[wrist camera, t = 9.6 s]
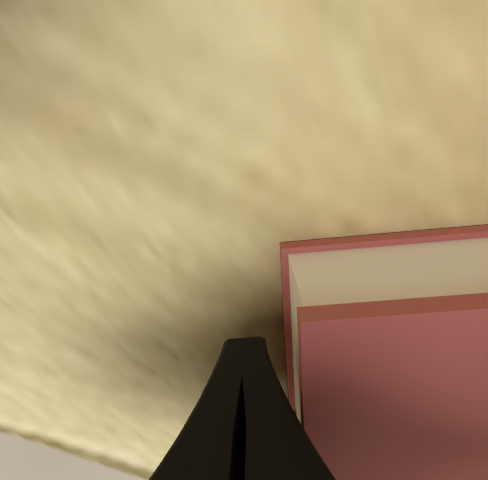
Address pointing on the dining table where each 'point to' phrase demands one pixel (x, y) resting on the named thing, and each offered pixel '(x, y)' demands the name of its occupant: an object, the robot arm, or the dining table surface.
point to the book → (391, 352)
